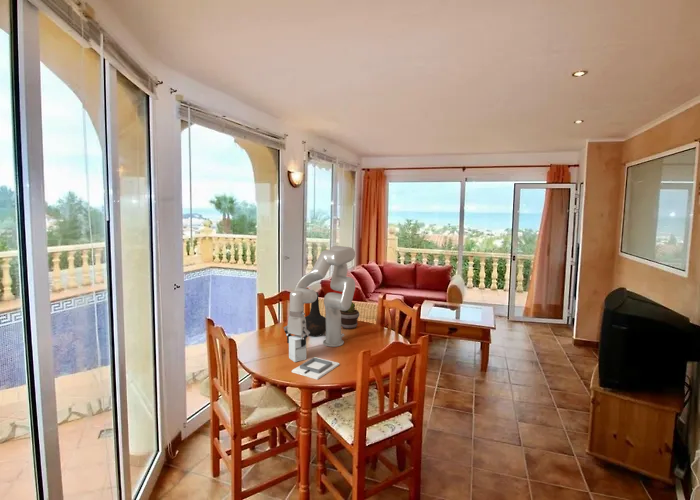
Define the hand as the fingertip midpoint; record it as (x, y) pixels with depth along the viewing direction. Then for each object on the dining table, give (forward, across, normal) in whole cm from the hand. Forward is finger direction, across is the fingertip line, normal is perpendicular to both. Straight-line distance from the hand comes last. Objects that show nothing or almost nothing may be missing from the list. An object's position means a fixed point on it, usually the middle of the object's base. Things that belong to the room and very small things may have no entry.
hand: (296, 344), depth 207 cm
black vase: (+8, +16, -39) cm, 43 cm away
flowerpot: (+7, +4, -63) cm, 64 cm away
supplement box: (+9, 0, -1) cm, 9 cm away
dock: (+9, -16, +4) cm, 19 cm away
